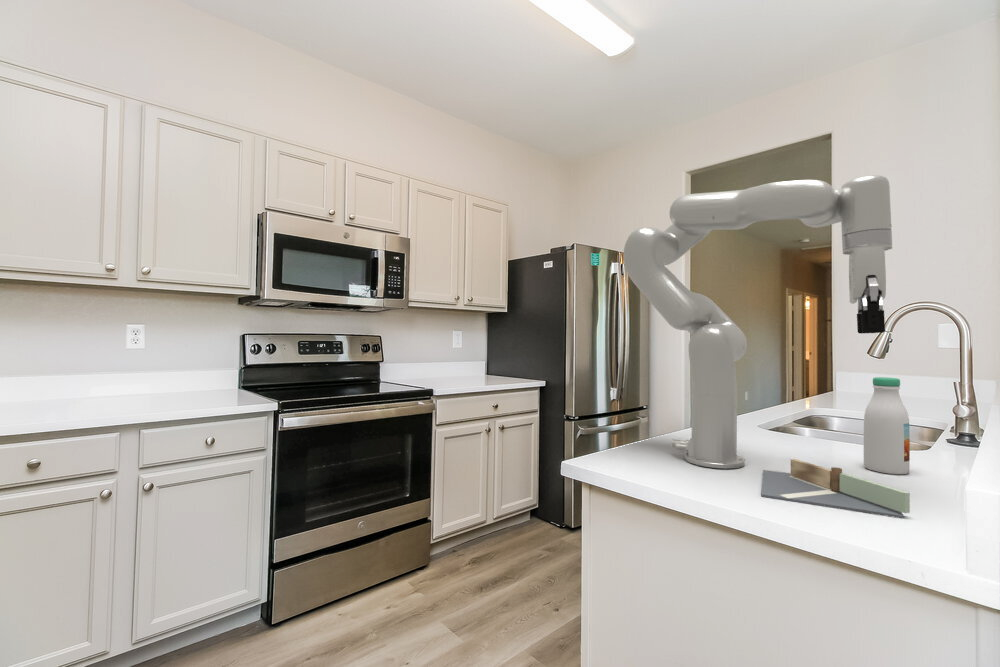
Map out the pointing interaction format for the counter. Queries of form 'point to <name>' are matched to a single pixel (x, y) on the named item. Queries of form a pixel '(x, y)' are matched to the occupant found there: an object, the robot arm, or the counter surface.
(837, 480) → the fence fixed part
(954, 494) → the counter surface
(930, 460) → the counter surface
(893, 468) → the milk bottle
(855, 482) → the fence hinged panel
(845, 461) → the counter surface
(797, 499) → the board
